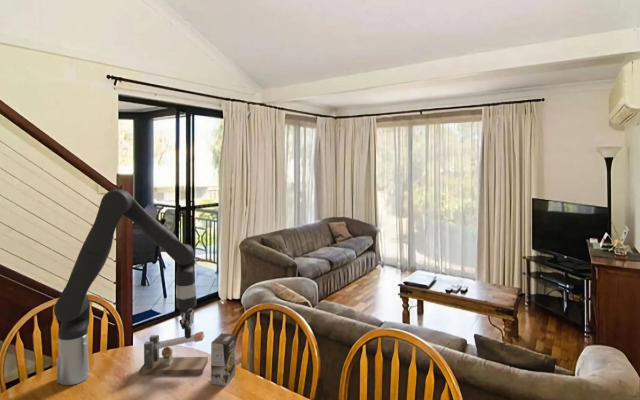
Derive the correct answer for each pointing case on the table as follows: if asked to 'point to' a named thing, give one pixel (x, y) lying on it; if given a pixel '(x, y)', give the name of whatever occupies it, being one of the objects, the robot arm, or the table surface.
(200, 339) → the lever
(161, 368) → the press base
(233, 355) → the coffee box
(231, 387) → the table surface
